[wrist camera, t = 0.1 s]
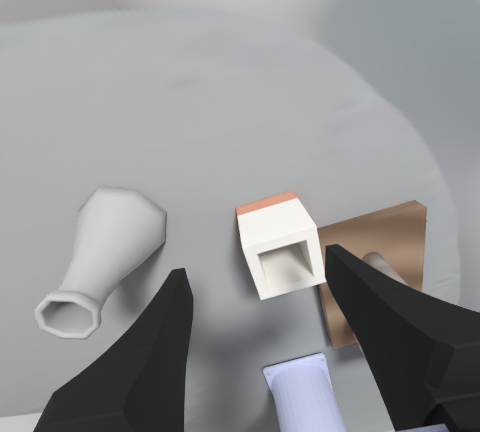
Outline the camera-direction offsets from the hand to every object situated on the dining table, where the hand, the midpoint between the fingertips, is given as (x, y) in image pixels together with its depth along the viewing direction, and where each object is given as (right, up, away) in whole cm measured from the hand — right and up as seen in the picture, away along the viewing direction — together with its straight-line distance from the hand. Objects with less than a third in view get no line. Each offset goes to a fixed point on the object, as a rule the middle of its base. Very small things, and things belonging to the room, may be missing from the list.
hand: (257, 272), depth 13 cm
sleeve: (+2, +2, +10) cm, 11 cm away
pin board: (+12, -4, +14) cm, 19 cm away
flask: (-11, +2, +9) cm, 14 cm away
